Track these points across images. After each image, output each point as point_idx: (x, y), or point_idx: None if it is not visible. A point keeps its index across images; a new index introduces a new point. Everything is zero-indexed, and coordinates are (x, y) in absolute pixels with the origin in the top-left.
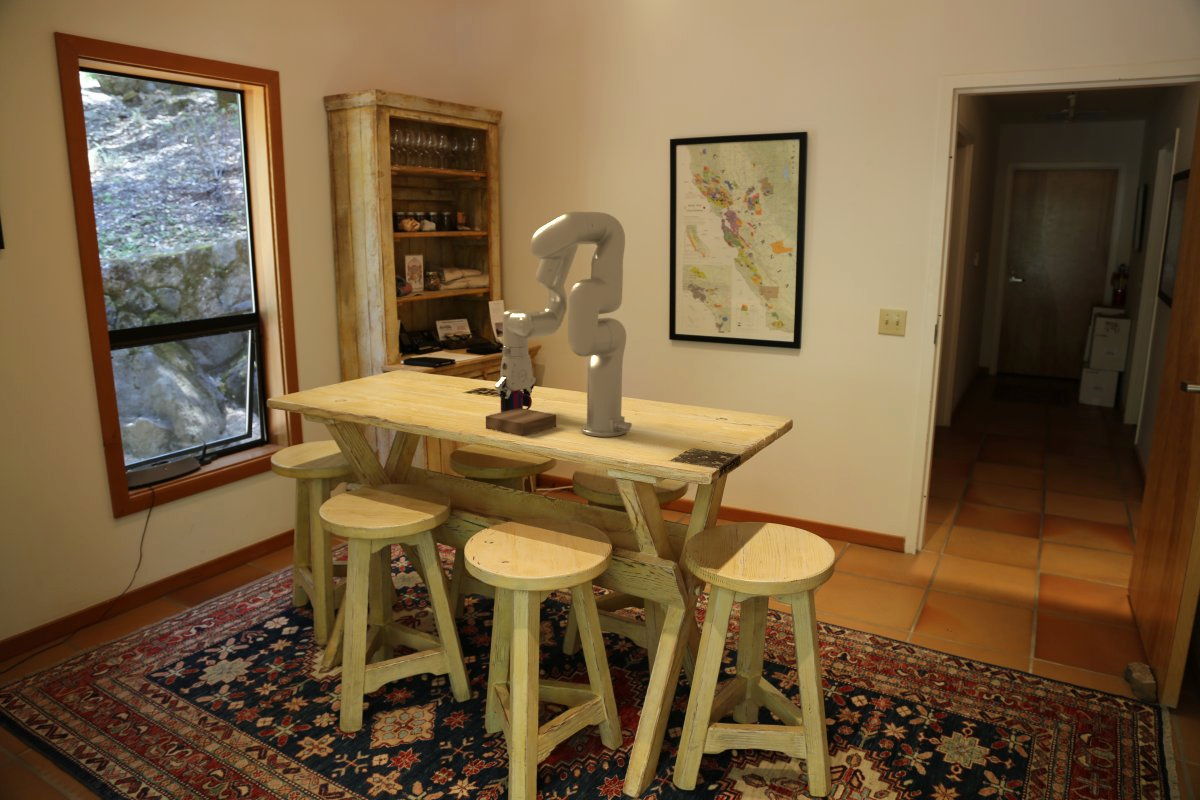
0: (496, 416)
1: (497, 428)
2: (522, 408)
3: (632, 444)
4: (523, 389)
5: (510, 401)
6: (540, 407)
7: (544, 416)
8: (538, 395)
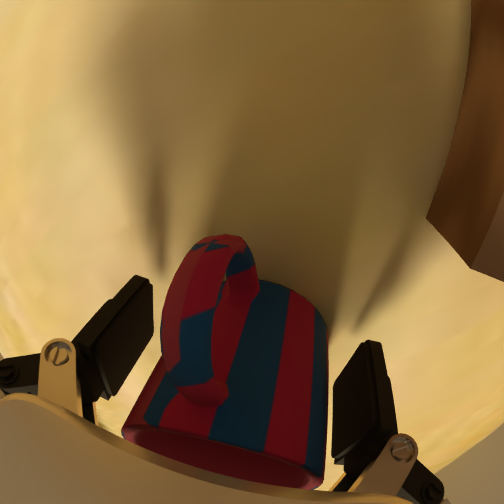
0: None
1: None
2: (491, 227)
3: None
4: (88, 414)
5: (323, 408)
6: (55, 249)
7: None
8: (3, 318)
